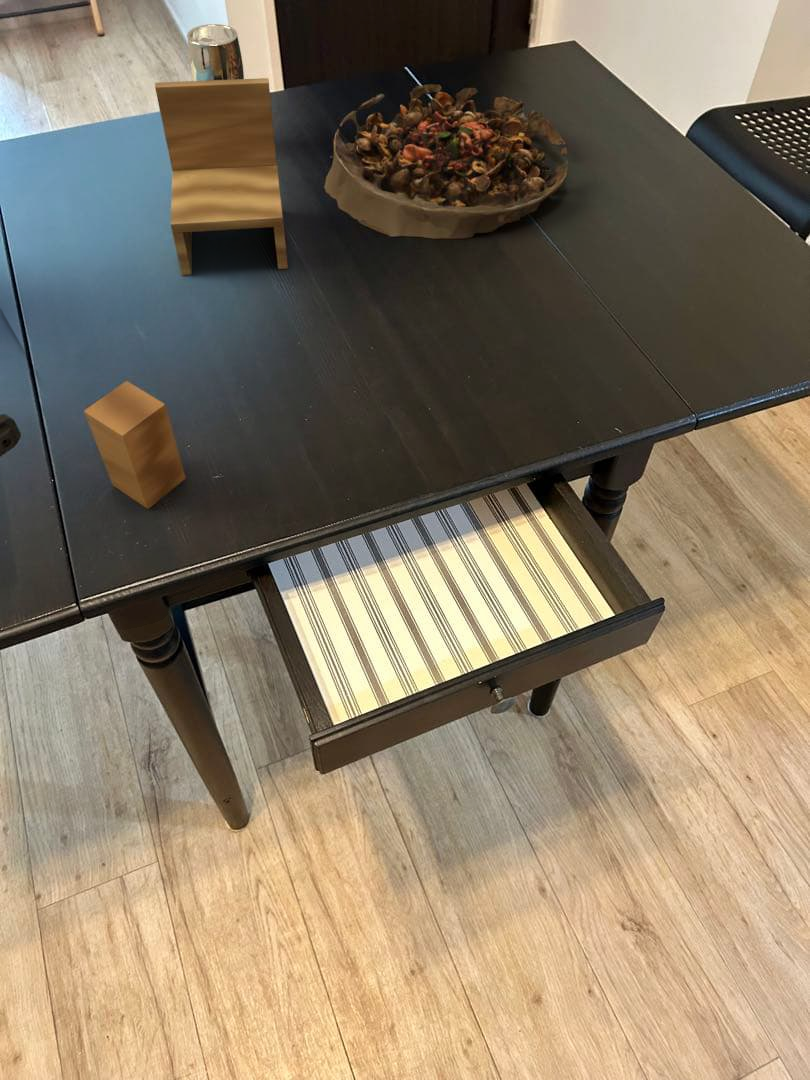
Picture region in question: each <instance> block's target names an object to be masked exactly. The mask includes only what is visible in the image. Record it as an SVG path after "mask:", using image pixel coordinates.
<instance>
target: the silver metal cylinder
mask: <svg viewBox="0 0 810 1080" xmlns="http://www.w3.org/2000/svg"><path fill="white" fill-rule="evenodd" d="M186 38H187V44H188V47H187V48H188V56H189V57H188V58H189V63H190V72H191V76H192V81H209V80H234V79H245V70H244V63H243V56H242V51H241V46H240V41H239V35H238V31H237V30H236V29H235V28H233V27H231V26H228V25H226V24H220V23H219V24H218V23H211V24H209V23H208V24H203V25H198V26H196V27H193V28H192V29H190V30H189V31H188V32H187V34H186Z"/></svg>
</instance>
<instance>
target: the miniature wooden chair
mask: <svg viewBox="0 0 810 1080" xmlns="http://www.w3.org/2000/svg"><path fill="white" fill-rule="evenodd" d="M154 90H155V95H156V98H157V103H158V109H159V114H160V119H161V124H162V127H163V131H164V132H163V133H164V137H165V143H166V148H167V152H168V156H169V157H168V158H169V161H170V167H171V172H172V173H171V175H172V176H171V196H170V197H171V198H170V199H171V200H170V229H171V232H172V238H173V242H174V247H175V251H176V257H177V260H178V264H179V265H178V266H179V270H180V273H181V276H191V275H192V274H193V273H192V268H193V267H192V265H193V264H192V263H193V262H192V261H193V232H195V233H196V232H212V231H227V230H244V229H245V230H246V229H260V228H273V233H274V243H275V252H276V263H277V269H278V270H286V269H287V270H288V269H289V265H288V256H287V246H286V245H287V244H286V235H285V225H284V224H285V223H284V216H283V206H282V197H281V188H280V180H279V170H278V169H279V168H278V160H277V150H276V141H275V139H276V138H275V131H274V122H273V121H274V119H273V111H272V102H271V91H270V81H269V78H267V77H261V78H244V79H234V80H209V81H193V80H189V81H188V80H187V81H186V80H185V81H168V82H167V81H163V82H155V84H154Z"/></svg>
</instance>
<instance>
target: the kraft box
mask: <svg viewBox="0 0 810 1080" xmlns="http://www.w3.org/2000/svg"><path fill="white" fill-rule="evenodd" d="M83 413H84V415H85V418H86V420H87V423H88V426H89V429H90V431H91V433H92V436H93V439H94V441H95V444H96V446H97V448H98V451H99V454H100V457H101V459H102V462H103V465H104V467H105V469H106V472H107V475H108V477H109V479H110V483H111V485H112V486H113V487H114V488H115V489H117V490H119V491H120V492H122V493H123V494H125V496H128V497H129V498H130V499H132V500H134V501H135V502H137V503H138V504H139V505H141V506H142V507H144V508H145V509H147V510H149V509H150V508H152V507H153V506H154V505H155V504H156V503H158V502H159V501H160V500H161V499H162V498H164V497H165V496H167V495H168V494H169V493H170V492H171V491H172V490H174V489H175V488H176V487H177V486H178V485H180V484H181V483H182V482H183V481H185V480H186V479H187V478H186V474H185V471H184V468H183V463H182V460H181V457H180V453H179V448H178V446H177V442H176V439H175V434H174V432H173V427H172V424H171V420H170V418H169V413H168V409H167V406H166V403H164V402H163V401H161V400H159V399H158V398H156V397H154V396H152V395H151V394H149V393H148V392H146V391H144V390H142V389H141V388H139V387H138V386H136V385H134V384H133V383H131V382H130V381H128V380H125V381H124V382H123V383H121V384H120V385H118V386H117V387H116V388H114V389H112V390H111V391H110V392H108V393H107V394H106V395H104V396H103V397H101V398H100V399H98V400H97V401H95V402H94V403H92V404H91V405H90V406H88V407H87V408H85V409H84V410H83Z"/></svg>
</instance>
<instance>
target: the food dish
mask: <svg viewBox="0 0 810 1080" xmlns="http://www.w3.org/2000/svg"><path fill="white" fill-rule="evenodd" d="M442 89H443V88H442V86H441V85H440V84H424V85H416V86H415V87H414V88H413V89H412V91H410V92H409V93H410V102H409V103H408V109H407V108H406V106H404V105H403V104H400V105H399V113H397V114H396V115H395V117H394V119H393V120H392V121H391V122H390V123H388V124H386V123H384V121H383V120H384V119H383V115H382V114H381V113H380V112H374V113H372V114H370V115H368V117H367V118H366V121H365V124H364V125H361V126H360V125H359V122H358V120H357V113H358V111H360V110H361V109H365V110H366V109H367V110H368V109H369V108H370V107H371V106H372V105H376V104H377V103H379V102H380V101H381V100H382V99H383V98H384V97H385V95H384V94H383V93H380V94H376V96H375V97H372V98H371V99H368V100H366V101H365V102H363V103H362V104H361V105H360V106H359V107H358V109H357V110H352V111H350V112H349V113H348V114H347V115H346V116H345V117H344V118H343V119H342V120H341V121H340V124H339V127H342V126H344V125H343V124H344V123H345V122H346V121H348V120H351V121H352V122H353V123H354V124H355V125H356V135H355V136H354V143H351V142H347V143H345V142H344V141H343V140H342V137H341V135H340V129H339V128H337V130H336V132H335V134H334V138H333V155H330V159H332V158H333V159H332V165H331V167H330V169H329V171H328V173H327V175H326V176H325V182H324V186H323V188H324V190H325V193H326V194H328V195H329V197H331V198H332V199H334V200H336V203H337V207H338V209H340V210H341V211H342V212H344V213H346V214H348V215H349V216H350V217H351V218H352V219H354V220H356V221H357V222H358V224H360V225H363V226H364V227H368V228H369V229H372V230H373V231H376V232H377V233H381V234H383V235H387V236H388V237H390V238H391V237H393V238H394V237H418V238H426V239H434V240H436V239H437V240H438V239H439V240H440V239H445V240H446V239H447V240H448V239H449V240H451V239H469V238H472V237H474V235H475V234H486V233H491V232H492V233H493V232H494V231H495V230H497V229H498V228H499V227H501V226H504V225H505V224H507V223H508V224H511V223H512V222H517V221H519V220H521V218H523V217H525V216H526V215H528V214H531V213H533V212H536V211H537V210H538V208H539V206H540V204H541V203H542V202H543V201H544V200H545V199H547V198H548V197H550V196H551V195H552V194H554V193H556V192H557V190H558V189H559V188H560V187H561V185H562V184H564V181H565V179H566V178H567V177H568V170H569V169H568V167H569V161H568V159H565V162H564V163H563V164H560V165H559V166H558V167H556V168H555V172H556V175H555V176H554V177H553V178H552V179H551V180H549V181H547V180H548V179H549V177H550V176H551V174H552V169H551V167H549V165H544V164H545V159H546V156H545V152H544V151H542V152H541V153H539V152H538V149H537V148H536V147H533V141H532V140H531V139H532V137H534V136H536V135H537V134H538V132H539V136H541V137H545V138H547V140H548V143H549V144H550V145H551V146H556V147H557V146H558V147H561V146H563V145H566V142H565V141H564V139H563V138H562V136H561V134H560V133H559V132H558V131H557V129H556V128H554V126H553V125H552V124H551V123H550V122H549V120H547V119H545V118H544V117H543V113H542V111H541V112H540V111H537V110H536V109H532V110H531V111H529V112H528V115H527V117H526V116H525V111H524V110H525V107H524V102H523V99H522V98H520V101H519V102H516V101H515V100H513V99H510V98H507V97H505V96H497V97H495V99H494V102H493V107H494V109H495V110H492V109H490V110H486V111H485V112H483V113H482V112H479V111H477V109H476V103H475V102H474V100H473V99H472V100H471V98H473V97H474V96H475V95H476V94H478V93H479V90H478V89H477V88H476V87H465V88H463V89H462V90H461V91H459V92H457V93H455V99H456V103H455V100H454V98H453V96H451V95H449V94H448V93H447V92H443V91H442ZM432 92H433V93H436V94H435V96H434V98H431V99H430V102H428V104H427V106H425V107H423V105H424V103H422V101H421V100H420V99H419V98H420V97H421V96H422V95H424V94H426V95H430V94H431V93H432ZM507 120H508V121H507ZM535 134H536V135H535ZM567 154H568V149H567V147H563V148H562V149H561V152H560V155H561V156H564V155H567ZM545 170H549V171H545ZM546 181H547V182H546Z"/></svg>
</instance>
